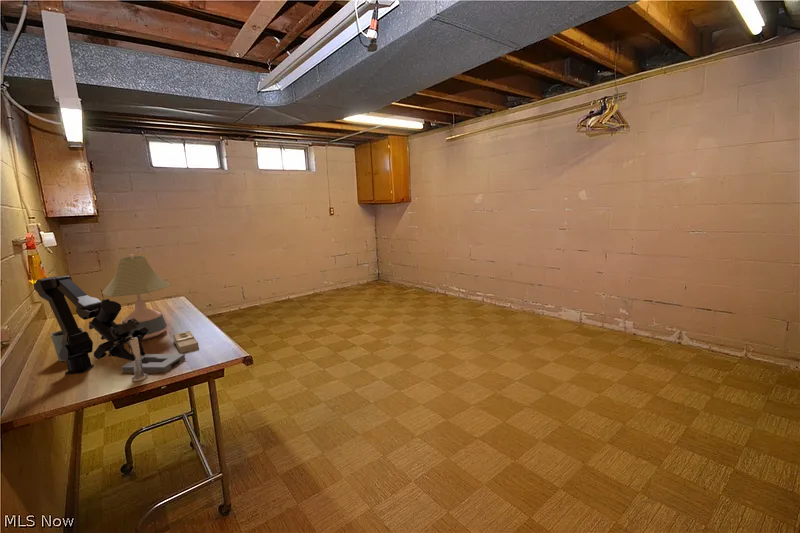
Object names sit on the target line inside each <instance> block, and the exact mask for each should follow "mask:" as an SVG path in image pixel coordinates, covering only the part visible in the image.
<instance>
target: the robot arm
mask: <svg viewBox="0 0 800 533" xmlns="http://www.w3.org/2000/svg"><path fill="white" fill-rule="evenodd" d="M33 289H34V290H35V291H36V292H37V295H38V296H39V297H41V298H42V299H44V300H45V301H47V302H48V304H49V306H50V308H51V310H52V312H53V315H54V317H55V319H56V322H57V323H58V325H59V328H60V331H61V330H62V332H63V335H64V336H63V339H62V342H61V344H62V349H61V351H60V353H59V356H60V359H62V360H66V366H67V371H66V372H64V374H65V375H71V374H82V373H84V372H86V371H87V370H89V369H92V367H94V364H92V362H91V358H90V356H89V354H91V353H93V357H94V358H95V359H97V360H100V359H102V358H105V357H107V352H108V353H109V354H108V357H109V358H110V357H116V358H121V359H123V360H128V361H130V362H131V361H134V360H135V358H134V357H133V355H132V354H131V352H130V351H128V349H127V348H125V344H127V343H128V344H129V341H128V339H130V338H134V337H137V338H138V343H139V349H140V354H141V356H144V355H145V354H146V352H145V349H144V347H143V345H142V341H143V340H142V339H143V338H144V336H145V335H146V334H147V333H148V331H149V330H148V329H147V328H146V327H141V328H139V329H136V328H137V325H139V322H138V321H137V320H136V319H135V318H132V319H130V320H128V321H127V323H125V324H122V323H116V322H115V320H116V319H117V317H118V316H119V314H120V312H121V310H122V305H121V303H120V302H117V301H114V300H110V299H109V298H105V299H102V300H100V299H99V298H97V297H93V296H89V295H88V294H87V293H86V292H85V291H84V290H83V289H82V288H81V287H80V286H78V285H77V283H75V282H74V281H73V279H72V277H71V276H70V275H60V276H59V275H58V276H49V277H43V278H39V279H36V280H35V282H33ZM66 299H68V300H69V301H70V302H71V303H73V305H74V306H75V313H77V315H78V317H79V318H80V319H82V320H84V321H85V320H86V321H87V320H89V319H91V321H89V322H88V324H89V325H88V329H89V330H93V329H94V330H95V331H96V332H97V333H99V335H100V336H101V337H100V339H101V340H102V341H103V340H106V341H105V342H103V343H100V344H99V345H98V346H97V347H96V348H95V350H94V352H93V347H94V343H93V340H92V339H91V337H90V335H89V332H87V331H86V330H85V331H81V330H79V328H80V327H79V326H78V324H77V322H76V319H75V317H74V314H73V313H72V310H71V307H70V306H69V304H68V302H67V300H66ZM133 329H136V330H135V331H134V332H133V333H132V335H130V336H129V334H130V333H131V330H133ZM128 348H129V349H130V347H129V346H128Z"/></svg>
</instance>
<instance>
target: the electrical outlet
mask: <svg viewBox="0 0 800 533" xmlns="http://www.w3.org/2000/svg"><path fill="white" fill-rule="evenodd" d="M172 338H173V343H174V345H175V344H176V345H175V346H176V347H177V349H178V351H179V354H184V353H186V351H187V352H190V350H191V351H194V350H197V348H198V349H200V346H199V342H198V341H197V339H196V338H195V336H194V334H192V332H191V331H189V330H188V331H184V332H179V333H175V334H172ZM193 349H194V350H193Z"/></svg>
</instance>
